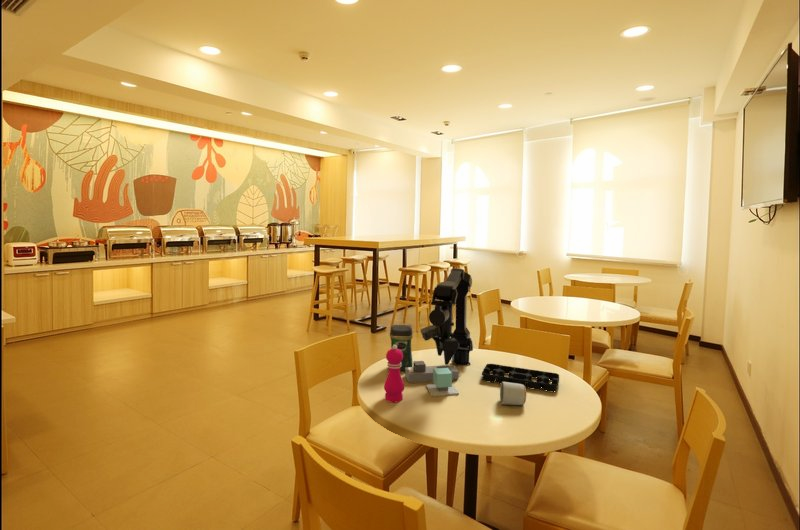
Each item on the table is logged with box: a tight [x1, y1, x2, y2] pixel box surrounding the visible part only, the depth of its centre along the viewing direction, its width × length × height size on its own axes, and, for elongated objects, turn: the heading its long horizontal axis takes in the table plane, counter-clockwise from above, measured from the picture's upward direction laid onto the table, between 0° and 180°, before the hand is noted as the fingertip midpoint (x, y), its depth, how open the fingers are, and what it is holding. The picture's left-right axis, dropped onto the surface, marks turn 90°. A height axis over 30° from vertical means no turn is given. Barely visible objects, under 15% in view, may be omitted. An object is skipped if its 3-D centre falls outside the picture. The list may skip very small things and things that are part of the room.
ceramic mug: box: [499, 382, 527, 406], centre depth 162 cm, size 11×8×8 cm
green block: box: [432, 368, 453, 391], centre depth 170 cm, size 6×6×7 cm
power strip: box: [404, 360, 459, 384], centre depth 182 cm, size 20×7×6 cm, turn 101°
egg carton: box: [481, 363, 560, 393], centre depth 180 cm, size 18×30×4 cm, turn 81°
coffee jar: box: [389, 324, 414, 372], centre depth 191 cm, size 10×8×19 cm
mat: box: [425, 383, 460, 397], centre depth 171 cm, size 10×9×1 cm
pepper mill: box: [383, 345, 405, 403], centre depth 162 cm, size 7×7×20 cm
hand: (443, 359), depth 169 cm, fingers open, 9 cm apart
